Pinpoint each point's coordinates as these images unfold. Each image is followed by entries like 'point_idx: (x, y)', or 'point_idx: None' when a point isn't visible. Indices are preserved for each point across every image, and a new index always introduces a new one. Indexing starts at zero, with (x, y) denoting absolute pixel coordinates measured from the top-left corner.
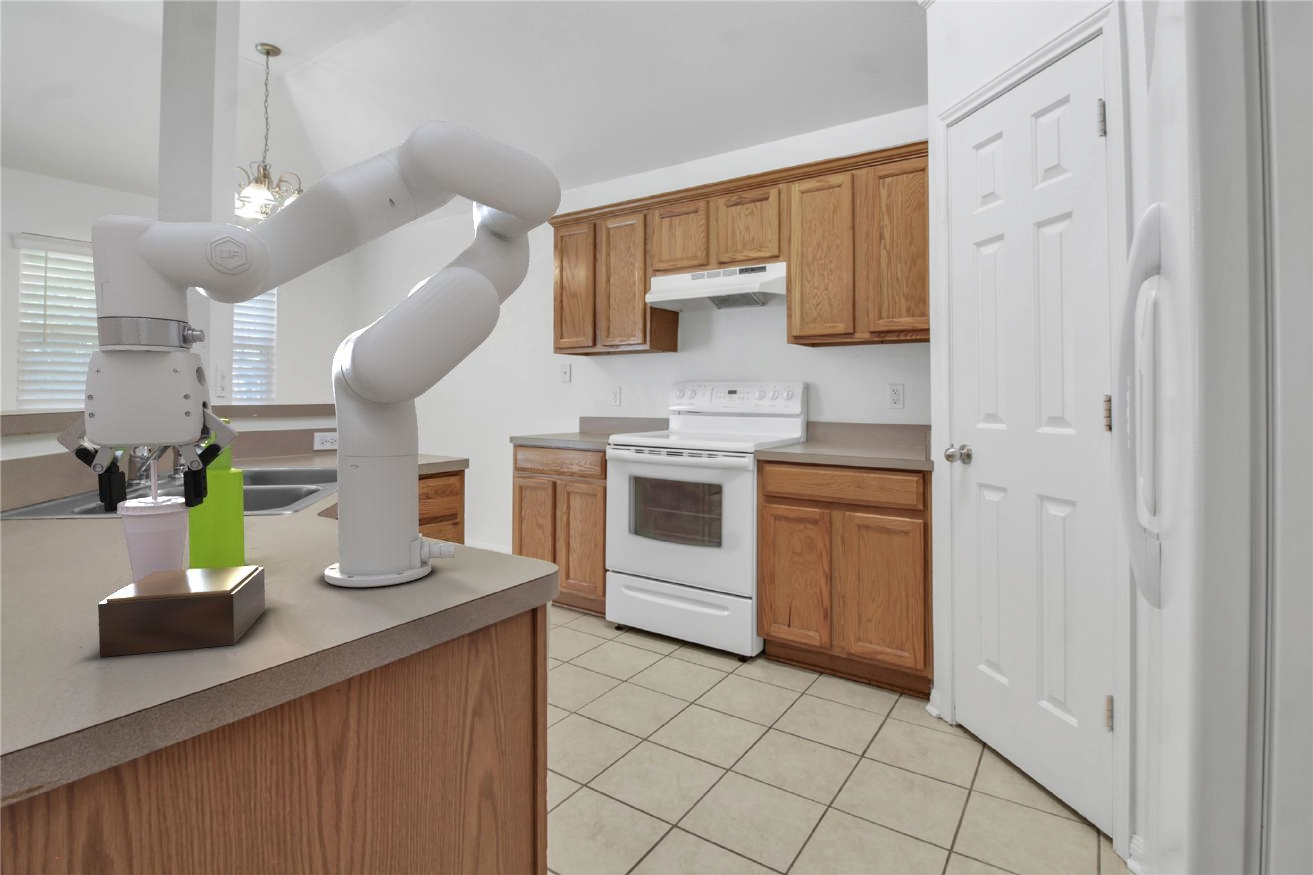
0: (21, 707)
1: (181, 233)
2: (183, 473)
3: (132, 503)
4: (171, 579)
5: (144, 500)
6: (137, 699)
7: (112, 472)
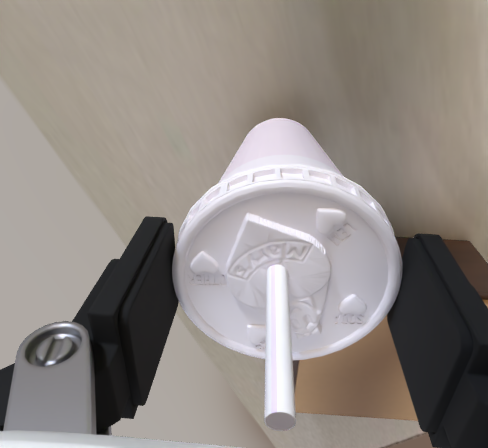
0: (267, 427)
1: None
2: (422, 428)
3: (221, 299)
4: (355, 352)
5: (255, 301)
6: (354, 440)
7: (127, 393)
